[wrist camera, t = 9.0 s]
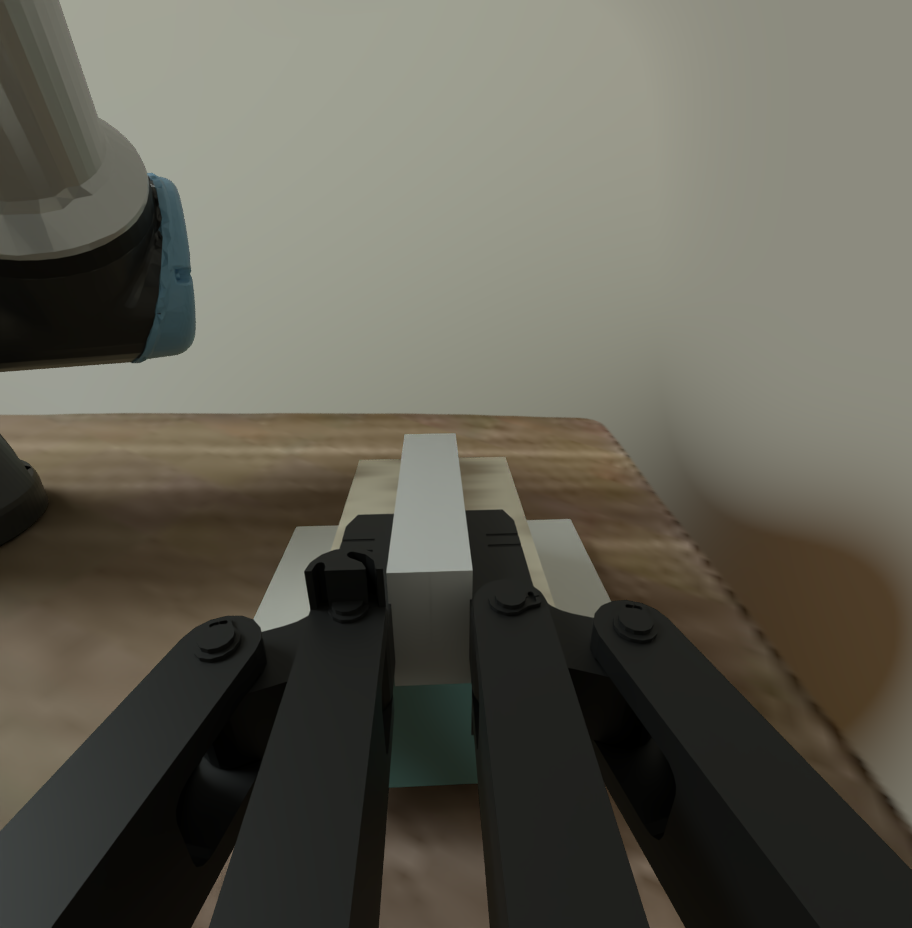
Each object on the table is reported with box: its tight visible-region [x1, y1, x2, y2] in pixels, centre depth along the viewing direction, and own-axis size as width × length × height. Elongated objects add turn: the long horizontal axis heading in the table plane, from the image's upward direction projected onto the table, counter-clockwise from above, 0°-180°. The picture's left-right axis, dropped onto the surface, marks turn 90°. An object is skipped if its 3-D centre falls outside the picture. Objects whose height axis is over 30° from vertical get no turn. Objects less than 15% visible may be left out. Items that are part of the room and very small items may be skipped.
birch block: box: [331, 457, 556, 788], centre depth 22 cm, size 8×6×14 cm
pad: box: [253, 519, 611, 632], centre depth 26 cm, size 18×14×2 cm
